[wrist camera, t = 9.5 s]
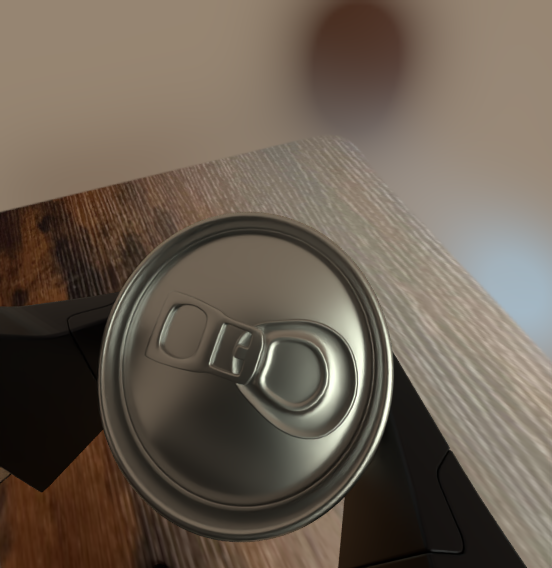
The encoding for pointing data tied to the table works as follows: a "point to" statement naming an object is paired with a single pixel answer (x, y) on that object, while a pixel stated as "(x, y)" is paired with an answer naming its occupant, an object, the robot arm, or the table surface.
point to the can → (245, 377)
